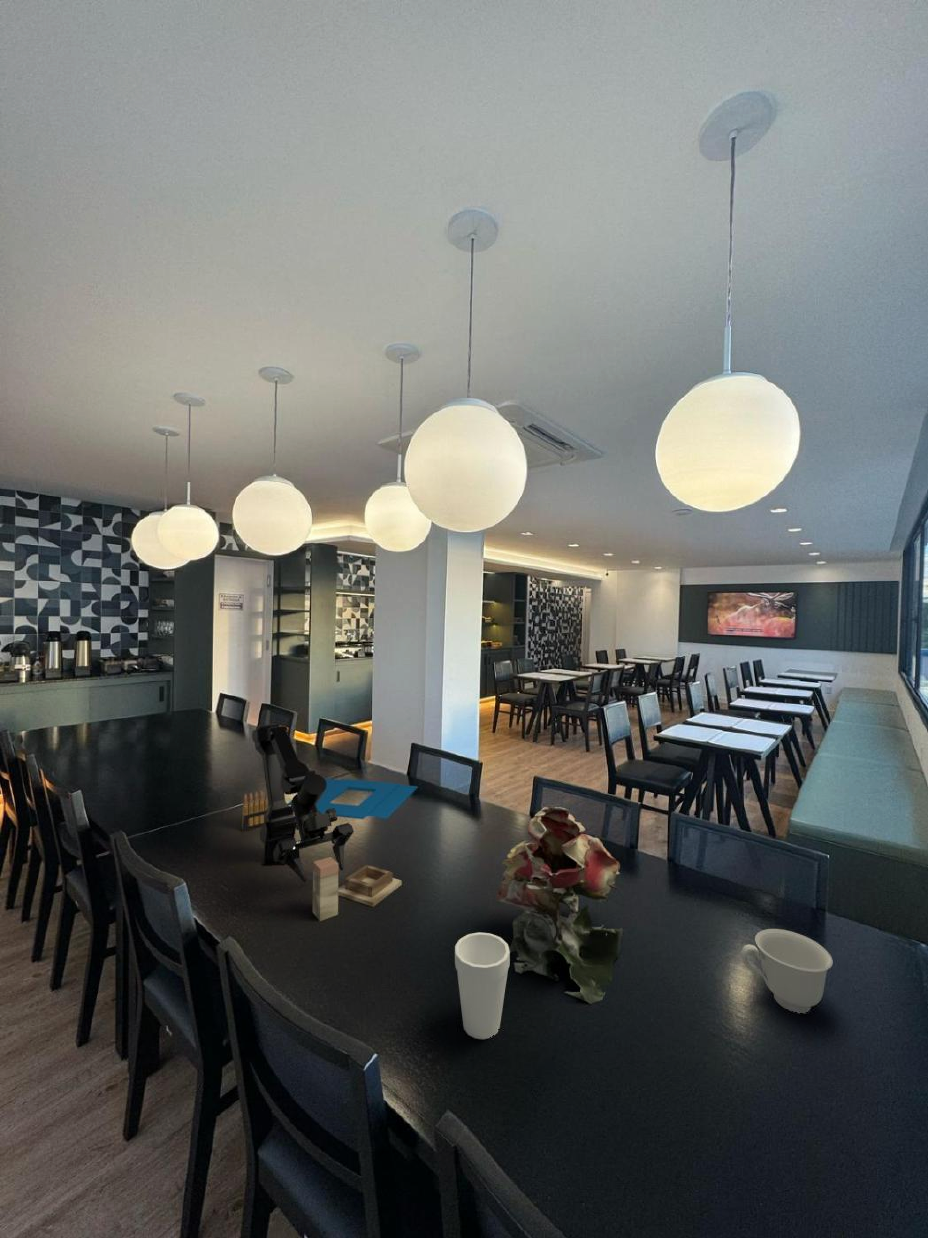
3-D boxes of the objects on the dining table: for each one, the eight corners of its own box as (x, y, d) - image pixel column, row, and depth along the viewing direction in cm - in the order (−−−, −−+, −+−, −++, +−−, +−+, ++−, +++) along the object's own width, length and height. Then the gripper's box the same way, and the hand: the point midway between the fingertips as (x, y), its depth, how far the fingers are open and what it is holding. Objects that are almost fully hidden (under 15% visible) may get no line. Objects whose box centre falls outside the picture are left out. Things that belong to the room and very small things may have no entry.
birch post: (312, 912, 122) (313, 861, 122) (330, 906, 124) (330, 856, 124) (320, 921, 118) (320, 869, 118) (337, 914, 121) (338, 863, 121)
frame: (417, 789, 212) (417, 784, 212) (384, 825, 177) (384, 820, 177) (326, 781, 222) (326, 776, 221) (277, 814, 186) (277, 808, 186)
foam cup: (452, 1005, 93) (453, 933, 93) (503, 1002, 94) (504, 931, 94) (456, 1049, 83) (457, 969, 83) (512, 1045, 84) (513, 966, 84)
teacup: (728, 975, 101) (728, 925, 101) (808, 982, 100) (808, 930, 100) (756, 1023, 89) (756, 966, 89) (847, 1031, 88) (848, 973, 88)
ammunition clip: (242, 831, 167) (243, 795, 167) (241, 830, 168) (241, 793, 168) (275, 823, 174) (276, 788, 174) (273, 821, 175) (273, 786, 175)
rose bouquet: (626, 924, 118) (627, 794, 118) (607, 1013, 91) (609, 845, 91) (519, 899, 129) (520, 779, 129) (474, 971, 102) (476, 820, 102)
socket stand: (335, 894, 130) (335, 880, 130) (365, 873, 140) (365, 860, 140) (373, 907, 124) (373, 892, 124) (401, 884, 135) (401, 871, 135)
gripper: (277, 807, 120) (294, 872, 112) (350, 791, 132) (370, 849, 123) (266, 830, 127) (281, 893, 118) (337, 813, 138) (355, 869, 129)
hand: (324, 875), depth 122 cm, fingers open, 9 cm apart
